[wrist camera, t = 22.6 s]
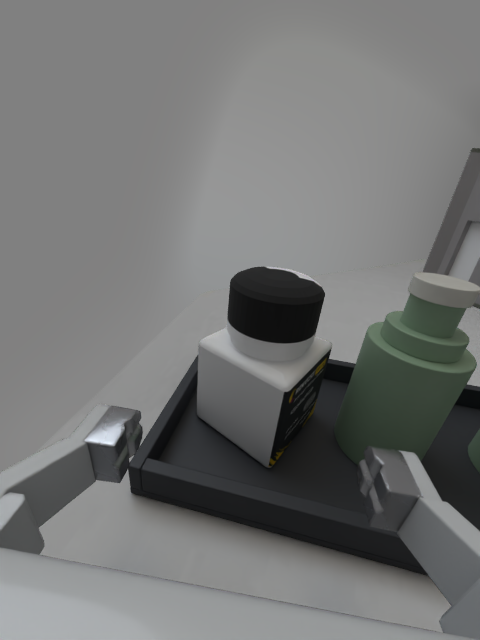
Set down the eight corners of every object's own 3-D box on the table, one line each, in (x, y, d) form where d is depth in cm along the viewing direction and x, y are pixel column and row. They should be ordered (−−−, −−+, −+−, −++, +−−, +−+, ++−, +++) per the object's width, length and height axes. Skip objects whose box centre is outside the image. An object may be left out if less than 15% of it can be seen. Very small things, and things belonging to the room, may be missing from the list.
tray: (130, 492, 16) (126, 465, 15) (208, 355, 30) (209, 336, 29) (780, 674, 12) (840, 655, 11) (524, 417, 26) (539, 397, 25)
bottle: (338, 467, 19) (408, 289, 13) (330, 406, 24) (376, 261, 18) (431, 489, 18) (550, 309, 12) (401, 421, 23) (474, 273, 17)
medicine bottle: (269, 472, 18) (305, 307, 13) (194, 416, 22) (197, 270, 16) (314, 413, 23) (352, 278, 18) (247, 376, 27) (263, 255, 22)
